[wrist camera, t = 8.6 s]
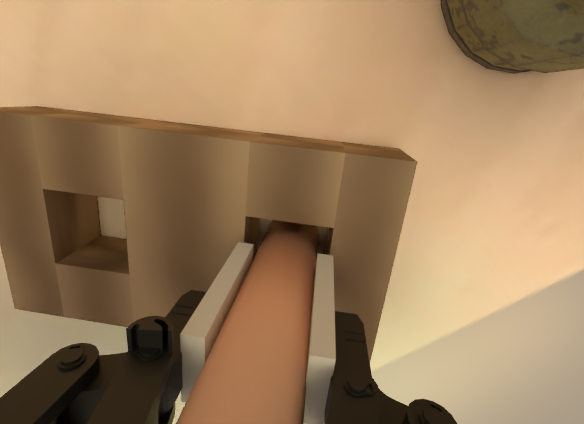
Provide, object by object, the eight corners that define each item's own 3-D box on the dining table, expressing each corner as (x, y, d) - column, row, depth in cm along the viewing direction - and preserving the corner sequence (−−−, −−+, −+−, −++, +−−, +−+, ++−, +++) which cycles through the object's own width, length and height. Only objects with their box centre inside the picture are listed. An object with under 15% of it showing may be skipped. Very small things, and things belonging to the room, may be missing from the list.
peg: (265, 255, 21) (132, 582, 7) (269, 209, 20) (121, 483, 6) (314, 262, 21) (283, 616, 7) (321, 216, 20) (301, 520, 5)
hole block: (64, 275, 24) (15, 308, 20) (37, 106, 20) (-31, 108, 16) (362, 321, 22) (368, 366, 19) (399, 148, 18) (417, 161, 15)
